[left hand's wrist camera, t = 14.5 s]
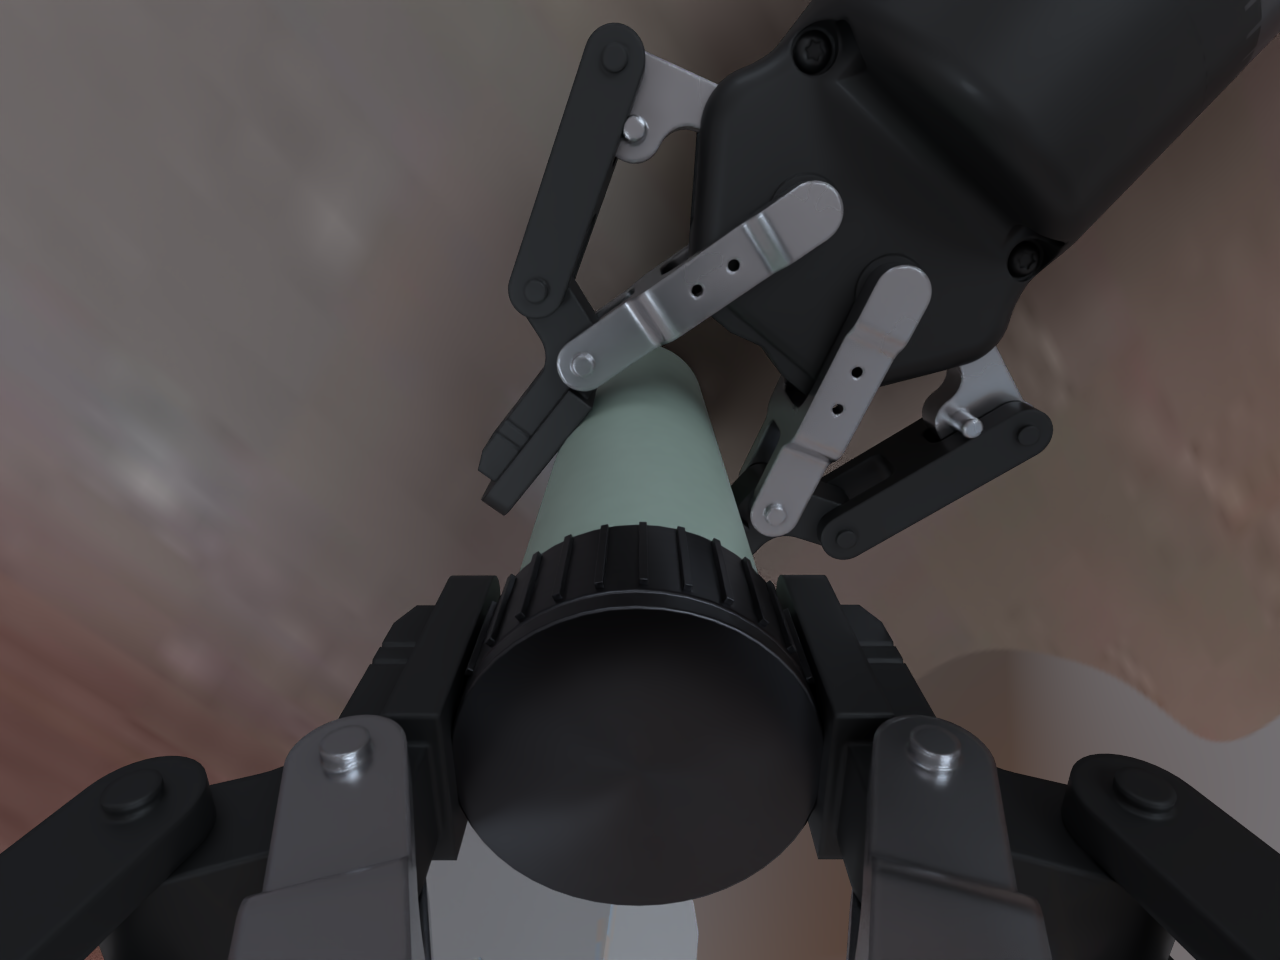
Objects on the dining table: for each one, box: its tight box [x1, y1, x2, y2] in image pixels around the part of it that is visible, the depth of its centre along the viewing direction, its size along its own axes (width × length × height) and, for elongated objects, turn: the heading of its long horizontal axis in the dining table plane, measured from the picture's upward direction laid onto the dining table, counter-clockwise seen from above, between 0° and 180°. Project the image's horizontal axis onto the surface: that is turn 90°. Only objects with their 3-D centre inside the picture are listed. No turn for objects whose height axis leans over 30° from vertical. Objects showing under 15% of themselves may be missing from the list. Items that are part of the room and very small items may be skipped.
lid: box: [451, 522, 824, 906], centre depth 10 cm, size 5×5×2 cm
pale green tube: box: [520, 346, 758, 573], centre depth 17 cm, size 4×4×16 cm
